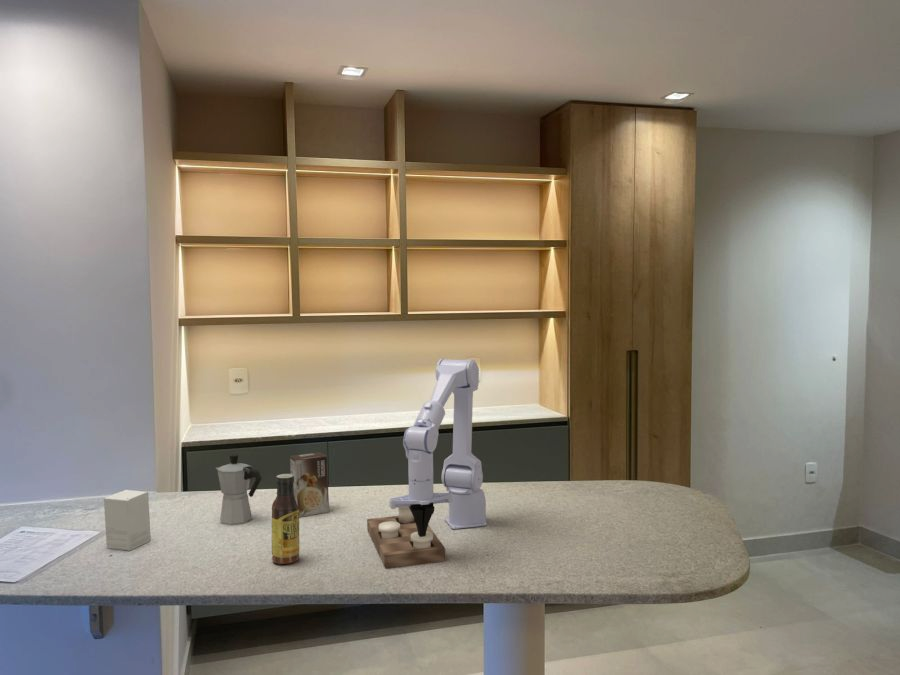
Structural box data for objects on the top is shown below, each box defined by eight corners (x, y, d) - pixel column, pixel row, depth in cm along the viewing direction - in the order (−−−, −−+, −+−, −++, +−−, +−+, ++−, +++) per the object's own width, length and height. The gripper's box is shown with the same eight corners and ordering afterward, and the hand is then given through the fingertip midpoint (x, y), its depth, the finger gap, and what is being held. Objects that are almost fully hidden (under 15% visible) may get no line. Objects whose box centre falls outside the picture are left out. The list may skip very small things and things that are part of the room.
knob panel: (420, 524, 182) (419, 513, 181) (445, 560, 158) (445, 548, 157) (367, 530, 178) (367, 519, 178) (385, 568, 154) (384, 555, 154)
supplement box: (151, 540, 172) (149, 491, 171) (129, 551, 165) (126, 500, 164) (128, 537, 175) (126, 488, 174) (105, 548, 168) (102, 497, 167)
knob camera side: (430, 550, 163) (429, 530, 163) (435, 558, 158) (435, 537, 158) (408, 553, 162) (408, 532, 162) (413, 561, 157) (413, 540, 157)
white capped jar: (414, 516, 179) (413, 497, 179) (418, 522, 174) (418, 503, 174) (394, 518, 178) (394, 499, 178) (398, 525, 173) (398, 505, 173)
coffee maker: (206, 522, 186) (203, 456, 184) (228, 512, 194) (225, 449, 192) (251, 528, 180) (249, 461, 179) (272, 518, 188) (270, 453, 187)
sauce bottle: (285, 568, 155) (283, 481, 153) (266, 562, 158) (263, 477, 156) (306, 558, 160) (303, 474, 159) (286, 552, 164) (284, 470, 162)
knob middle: (398, 540, 170) (397, 520, 170) (402, 547, 165) (402, 527, 165) (377, 542, 168) (377, 522, 168) (381, 550, 164) (380, 529, 163)
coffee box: (322, 506, 198) (321, 451, 197) (329, 512, 192) (328, 456, 191) (291, 511, 194) (289, 455, 192) (297, 518, 188) (295, 460, 187)
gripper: (393, 485, 153) (394, 545, 154) (455, 479, 157) (456, 537, 158) (387, 477, 160) (388, 534, 161) (447, 471, 164) (448, 527, 165)
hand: (421, 535), depth 160 cm, fingers closed, pressing on knob camera side
